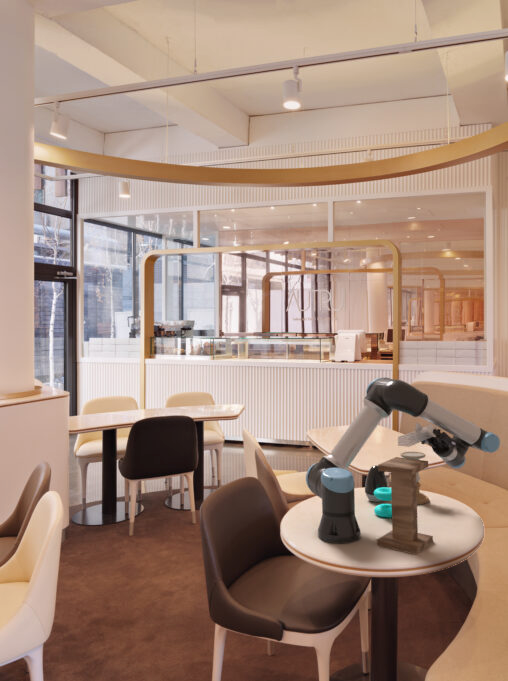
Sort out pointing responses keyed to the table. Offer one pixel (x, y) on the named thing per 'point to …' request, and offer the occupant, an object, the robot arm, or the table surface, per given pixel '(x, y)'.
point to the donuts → (385, 495)
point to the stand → (404, 506)
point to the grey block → (414, 437)
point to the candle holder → (417, 475)
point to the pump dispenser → (375, 483)
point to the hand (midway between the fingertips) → (422, 426)
